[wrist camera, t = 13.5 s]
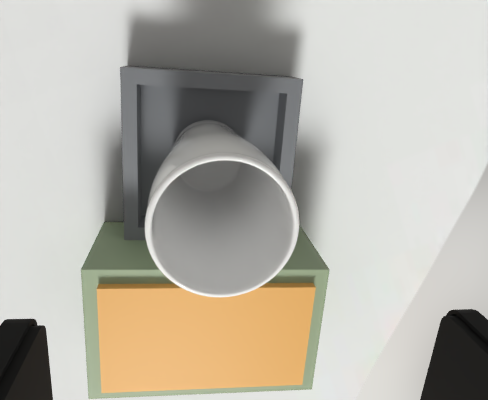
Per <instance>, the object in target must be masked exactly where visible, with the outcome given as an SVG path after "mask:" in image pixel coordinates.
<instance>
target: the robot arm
mask: <svg viewBox="0 0 488 400" xmlns="http://www.w3.org/2000/svg"><path fill="white" fill-rule="evenodd" d="M0 400H53V397H52V386H51V376H50V366H49V356H48V346H47V335H46V328H45V326H37V322H36V320H35V319H7V320H4V322H3V323H2V324H1V326H0ZM420 400H488V320H487V319H486V318H485V317H484V316H483V315H481V314H480V313H479V312H478V311H476V310H472V309H468V310H451V311H449V312H448V313H447V315H446V316H444V317H443V318H442V320H441V323H440V327H439V330H438V334H437V338H436V342H435V346H434V349H433V353H432V357H431V361H430V365H429V368H428V372H427V376H426V380H425V384H424V388H423V391H422V396H421V399H420Z"/></svg>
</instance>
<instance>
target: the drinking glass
mask: <svg viewBox="0 0 488 400" xmlns="http://www.w3.org/2000/svg"><path fill="white" fill-rule="evenodd" d="M298 233H299V212H298V207H297V203H296V200H295V198H294V195H293V193H292V191H291V189H290V188H289V186H288V184H287V183H286V181H285V179H284V178H283V176H282V175H281V173H280V172H279V170H278V169H277V167H276V166H275V165H274V164H273V162H272V161H271V160H270V159H269V158H268V157H267V156H266V155H265V154H264V153H263V152H262V151H261V150H260V149H259V148H257V147H256V146H255V145H253V144H252V143H250V142H249V141H247V140H246V139H244V138H242V137H241V136H239V135H238V134H237V133H236V132H235V131H234V130H233V129H232V128H230V127H229V126H227V125H226V124H224V123H221V122H219V121H214V120H202V121H198V122H195V123H192V124H190V125H189V126H187V127H186V128H185V129H183V130H182V131H181V133H180V134H179V135H178V137H177V138H176V140H175V142H174V145H173V147H172V149H171V150H170V152H169V153H168V155H167V156H166V157H165V159H164V160H163V162H162V164H161V165H160V167H159V169H158V171H157V173H156V175H155V178H154V180H153V183H152V186H151V189H150V193H149V197H148V202H147V210H146V217H145V238H146V243H147V246H148V250H149V252H150V255H151V257H152V259H153V261H154V262H155V264H156V265H157V267H158V268H159V270H160V271H161V272H162V273H163V274H164V275H165V276H166V277H167V278H168V279H169V280H170V281H172V282H173V283H174V284H176V285H177V286H179V287H181V288H183V289H185V290H187V291H189V292H192V293H195V294H198V295H202V296H207V297H231V296H237V295H241V294H245V293H247V292H250V291H253V290H255V289H257V288H259V287H261V286H262V285H264V284H265V283H267V282H268V281H270V280H271V279H272V278H273V277H275V276H276V275H277V274H278V273H279V272H280V271H281V269H282V268H283V267H284V266H285V264H286V263H287V262H288V260H289V258H290V257H291V255H292V253H293V251H294V248H295V245H296V242H297V238H298Z"/></svg>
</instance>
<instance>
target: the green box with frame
mask: <svg viewBox="0 0 488 400" xmlns="http://www.w3.org/2000/svg"><path fill="white" fill-rule="evenodd" d="M120 77H121V122H122V166H123V210H124V222H104V223H103V225H102V227H101V230H100V232H99V234H98V236H97V238H96V240H95V242H94V244H93V246H92V248H91V250H90V252H89V254H88V256H87V258H86V261H85V263H84V265H83V267H82V269H81V278H82V295H83V312H84V328H85V345H86V362H87V379H88V396H89V399H97V398H120V397H143V396H167V395H190V394H213V393H236V392H259V391H283V390H306V389H312V384H313V377H314V370H315V363H316V357H317V350H318V343H319V336H320V330H321V323H322V316H323V309H324V303H325V296H326V289H327V282H328V275H329V268H328V267H327V265H326V264H325V262H324V261H323V259H322V258H321V256H320V255H319V253H318V252H317V250H316V249H315V247H314V246H313V244H312V243H311V241H310V240H309V238H308V237H307V235H306V234H305V233H304V231H303V230H302V228H301V227H300V225H299V233H298V238H297V242H296V245H295V248H294V251H293V253H292V255H291V257H290V258H289V260H288V262H287V263H286V264H285V266H284V267H283V268H282V269H281V271H280V272H279V273H278V274H277V275H276V276H275V277H273V278H272V279H271V280H270V281H268V282H267V283H265V284H264V285H262V286H261V287H259V288H257V289H255V290H253V291H250V292H247V293H245V294H241V295H237V296H231V297H207V296H202V295H198V294H195V293H192V292H189V291H187V290H185V289H183V288H181V287H179V286H177V285H176V284H174V283H173V282H172V281H170V280H169V279H168V278H167V277H166V276H165V275H164V274H163V273H162V272H161V271H160V270H159V268H158V267H157V265H156V264H155V262H154V261H153V259H152V257H151V255H150V252H149V250H148V246H147V243H146V238H145V217H146V210H147V202H148V197H149V193H150V189H151V186H152V183H153V180H154V178H155V175H156V173H157V171H158V169H159V167H160V165H161V164H162V162H163V160H164V159H165V157H166V156H167V155H168V153H169V152H170V150H171V149H172V147H173V145H174V142H175V140H176V138H177V137H178V135H179V134H180V133H181V131H182V130H183V129H185V128H186V127H187V126H189V125H190V124H192V123H195V122H198V121H202V120H214V121H219V122H221V123H224V124H226V125H227V126H229V127H230V128H232V129H233V130H234V131H235V132H236V133H237V134H238V135H239V136H241V137H242V138H244V139H246V140H247V141H249V142H250V143H252V144H253V145H255V146H256V147H257V148H259V149H260V150H261V151H262V152H263V153H264V154H265V155H266V156H267V157H268V158H269V159H270V160H271V161H272V162H273V164H274V165H275V166H276V167H277V169H278V170H279V172H280V173H281V175H282V176H283V178H284V179H285V181H286V183H287V184H288V186H289V188H290V189H291V187H292V178H293V169H294V160H295V150H296V141H297V132H298V123H299V114H300V104H301V95H302V86H303V79H299V78H295V77H287V76H272V75H257V74H243V73H228V72H213V71H198V70H183V69H168V68H153V67H139V66H123V67H120Z"/></svg>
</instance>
